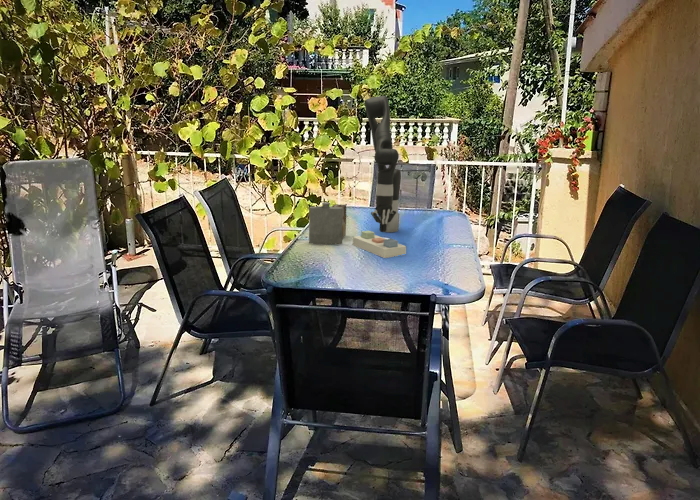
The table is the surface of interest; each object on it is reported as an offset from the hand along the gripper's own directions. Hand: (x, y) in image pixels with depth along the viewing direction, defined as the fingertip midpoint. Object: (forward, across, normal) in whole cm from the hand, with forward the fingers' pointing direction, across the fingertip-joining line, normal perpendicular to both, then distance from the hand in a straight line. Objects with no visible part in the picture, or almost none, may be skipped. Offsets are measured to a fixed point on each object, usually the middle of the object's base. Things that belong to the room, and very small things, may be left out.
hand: (382, 231), depth 244 cm
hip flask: (+10, +16, -25) cm, 31 cm away
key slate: (+6, -1, +5) cm, 8 cm away
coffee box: (+10, +4, -34) cm, 35 cm away
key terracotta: (+7, -1, -4) cm, 8 cm away
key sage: (+6, -1, -13) cm, 14 cm away
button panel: (+10, -1, -4) cm, 10 cm away
